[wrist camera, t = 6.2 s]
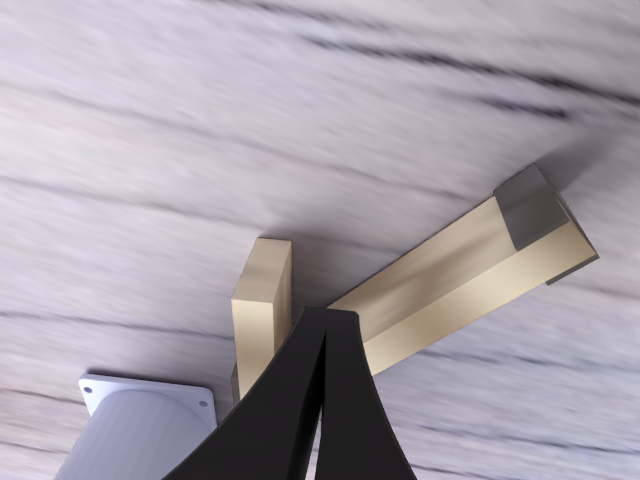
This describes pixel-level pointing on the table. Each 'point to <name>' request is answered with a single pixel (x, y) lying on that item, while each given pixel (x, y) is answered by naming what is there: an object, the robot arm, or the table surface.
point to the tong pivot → (261, 311)
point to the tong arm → (469, 269)
